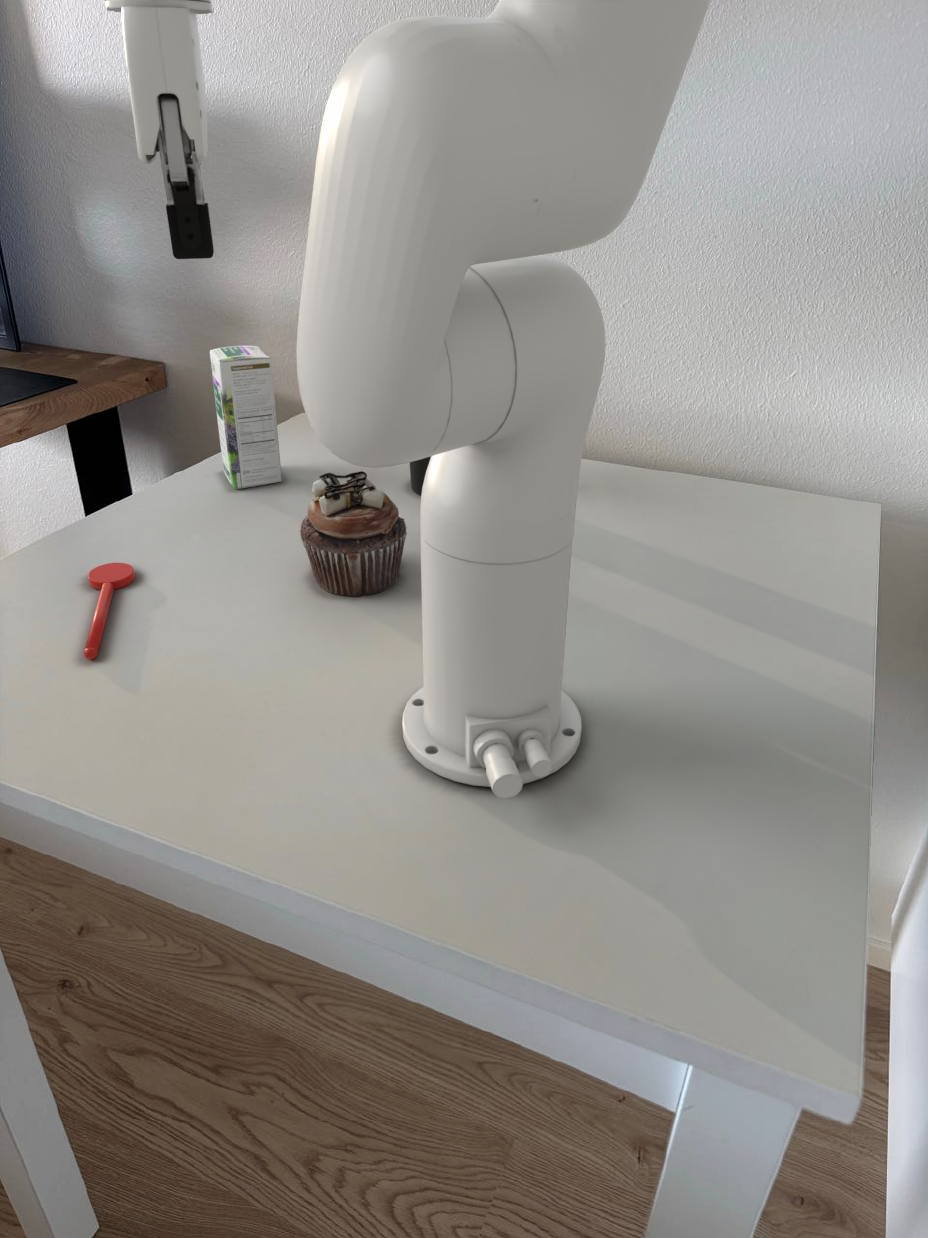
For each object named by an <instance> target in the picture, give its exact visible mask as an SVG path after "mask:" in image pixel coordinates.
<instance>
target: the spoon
mask: <svg viewBox="0 0 928 1238" xmlns="http://www.w3.org/2000/svg"><path fill="white" fill-rule="evenodd" d="M135 578H136V574H135V569H134V567H133V566H132V565H131V564H128V563H126V562H109V563H104V564H101V565H98V566H96V567H94V568H92V569H91V570H89V572H88V573H87V580H88V583H89V586H90V587H91V588H92V589H95V590H99V591H100V593H99V596H98V600H97V604H96V607H95V610H94V614H93V618H92V621H91V624H90V629H89V632H88V636H87V640H86V643H85V647H84V650H83V656H84V658H86V659H87V660H95V658H97V657H98V653H99V649H100V645H101V642H102V638H103V634H104V629H105V625H106V621H107V618H108V614H109V610H110V605H111V602H112V598H113V595H114V590H117V589H123V588H124V587H127V586H128V585H130V584H131V583H133V582H134V580H135Z"/></svg>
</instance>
